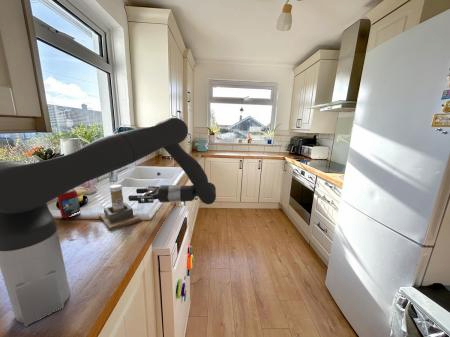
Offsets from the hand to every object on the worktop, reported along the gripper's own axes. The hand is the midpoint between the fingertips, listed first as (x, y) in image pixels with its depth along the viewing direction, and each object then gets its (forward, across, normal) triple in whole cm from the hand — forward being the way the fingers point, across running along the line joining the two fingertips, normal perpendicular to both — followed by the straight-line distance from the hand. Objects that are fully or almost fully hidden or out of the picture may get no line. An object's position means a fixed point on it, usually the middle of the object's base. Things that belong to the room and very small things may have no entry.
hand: (132, 194), depth 82 cm
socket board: (+7, 0, +11) cm, 13 cm away
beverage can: (+29, -3, +11) cm, 32 cm away
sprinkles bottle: (+7, 0, +10) cm, 12 cm away
